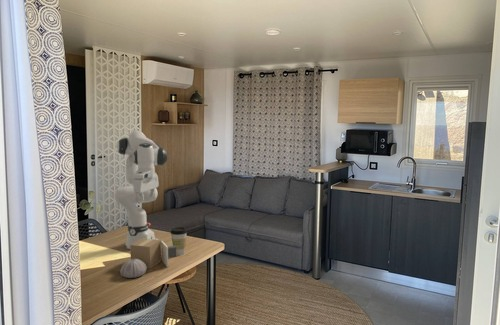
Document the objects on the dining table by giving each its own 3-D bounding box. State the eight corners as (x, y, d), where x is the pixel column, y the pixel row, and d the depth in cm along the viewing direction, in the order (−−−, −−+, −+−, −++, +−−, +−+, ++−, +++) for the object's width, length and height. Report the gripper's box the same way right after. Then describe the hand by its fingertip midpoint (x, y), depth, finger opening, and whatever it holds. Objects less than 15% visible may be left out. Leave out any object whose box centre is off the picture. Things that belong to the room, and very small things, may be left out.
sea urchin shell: (133, 282, 187) (132, 266, 186) (114, 276, 194) (113, 261, 193) (152, 272, 199) (151, 257, 198) (133, 267, 205) (133, 253, 204)
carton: (142, 258, 219) (141, 238, 217) (161, 260, 216) (160, 239, 214) (130, 266, 207) (130, 244, 206) (150, 268, 204) (149, 246, 203)
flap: (161, 259, 215) (161, 240, 214) (171, 257, 218) (171, 239, 217) (167, 266, 205) (166, 247, 204) (177, 264, 207) (176, 245, 206)
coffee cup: (169, 252, 229) (168, 228, 227) (184, 249, 233) (184, 226, 232) (173, 257, 220) (173, 232, 218) (189, 254, 225) (189, 230, 223)
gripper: (151, 170, 216) (151, 194, 217) (130, 175, 196) (131, 201, 198) (161, 171, 214) (161, 195, 216) (141, 176, 195) (142, 202, 196)
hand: (147, 198), depth 207 cm, fingers open, 8 cm apart
